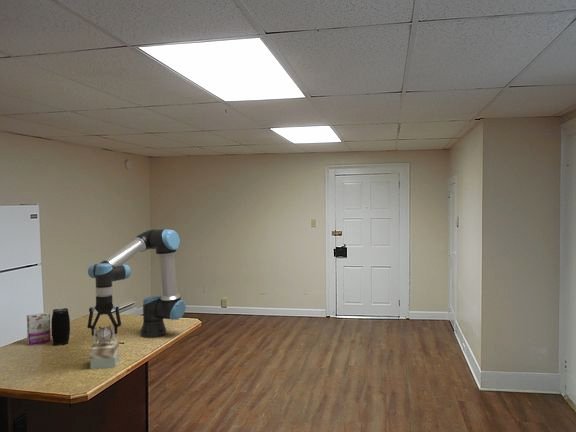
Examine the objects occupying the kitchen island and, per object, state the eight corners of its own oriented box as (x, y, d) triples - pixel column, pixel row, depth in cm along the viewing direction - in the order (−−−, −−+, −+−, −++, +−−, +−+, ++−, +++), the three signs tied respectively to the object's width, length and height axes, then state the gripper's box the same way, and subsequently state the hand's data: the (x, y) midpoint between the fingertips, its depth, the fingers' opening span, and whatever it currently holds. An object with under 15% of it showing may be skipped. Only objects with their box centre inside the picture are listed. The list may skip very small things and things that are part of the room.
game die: (106, 351, 219) (103, 337, 213) (92, 344, 221) (89, 331, 215) (119, 337, 226) (116, 324, 220) (105, 331, 228) (102, 318, 222)
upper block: (118, 350, 227) (118, 341, 227) (113, 358, 216) (113, 347, 216) (96, 352, 225) (95, 342, 225) (89, 359, 214) (89, 348, 214)
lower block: (118, 360, 227) (118, 350, 227) (114, 368, 216) (114, 357, 216) (95, 362, 225) (95, 352, 225) (90, 369, 214) (90, 359, 214)
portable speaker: (48, 344, 254) (48, 310, 253) (64, 340, 261) (64, 307, 261) (57, 347, 249) (56, 312, 249) (73, 342, 257) (72, 308, 256)
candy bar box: (48, 339, 263) (48, 312, 262) (50, 341, 259) (50, 313, 259) (26, 343, 256) (26, 315, 255) (28, 345, 252) (28, 316, 251)
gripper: (127, 292, 226) (128, 337, 226) (83, 294, 221) (83, 340, 222) (125, 295, 219) (125, 342, 219) (79, 297, 214) (80, 345, 215)
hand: (104, 341), depth 220 cm, fingers closed on game die, 8 cm apart
